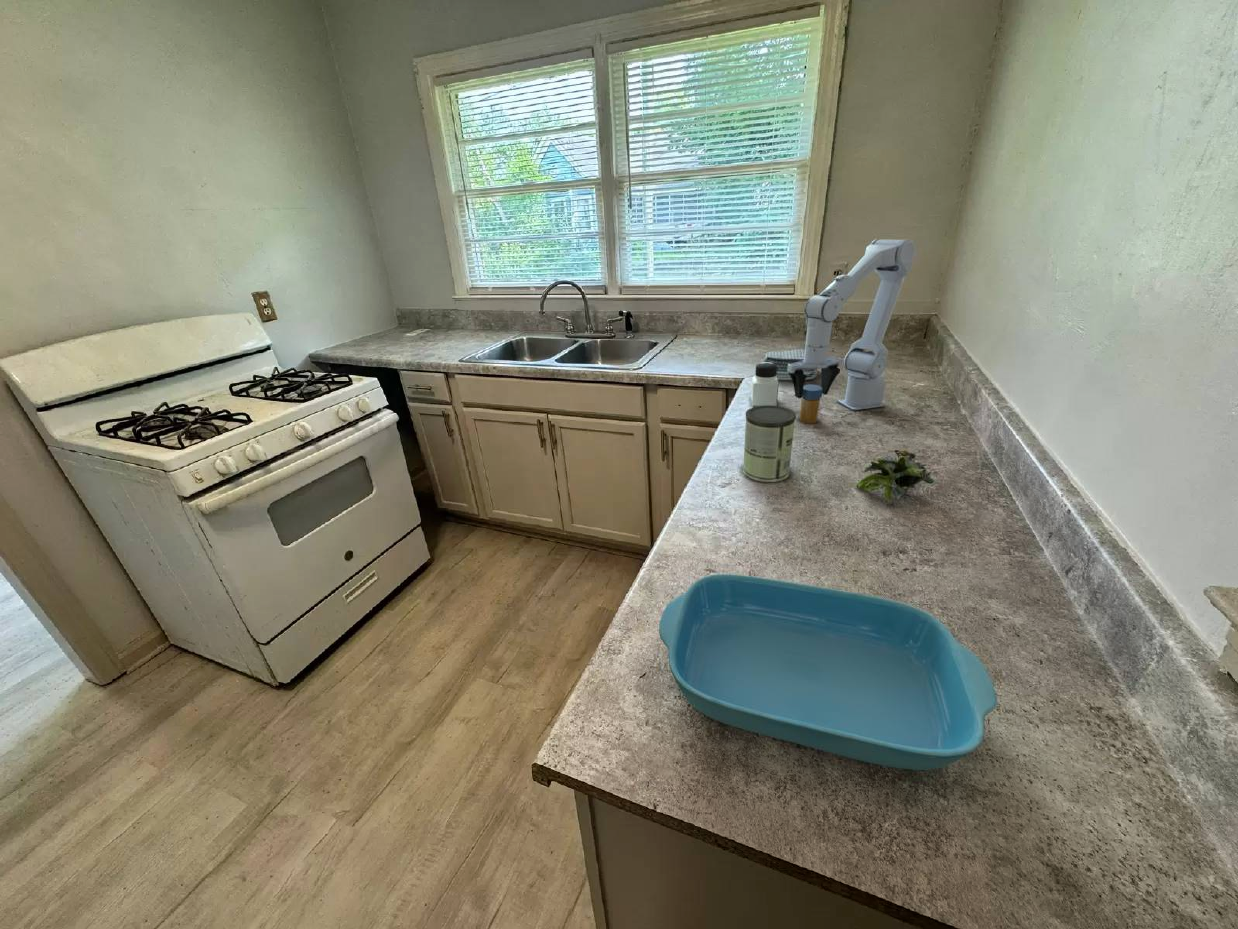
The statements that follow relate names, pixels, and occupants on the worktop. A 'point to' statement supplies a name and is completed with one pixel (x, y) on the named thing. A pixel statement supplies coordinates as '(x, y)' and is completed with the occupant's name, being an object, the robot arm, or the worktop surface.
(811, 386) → the jar lid
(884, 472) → the green leafy plant
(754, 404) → the medicine bottle
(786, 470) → the coffee can
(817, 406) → the honey jar
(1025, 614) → the worktop surface
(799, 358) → the towel
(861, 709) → the casserole dish
